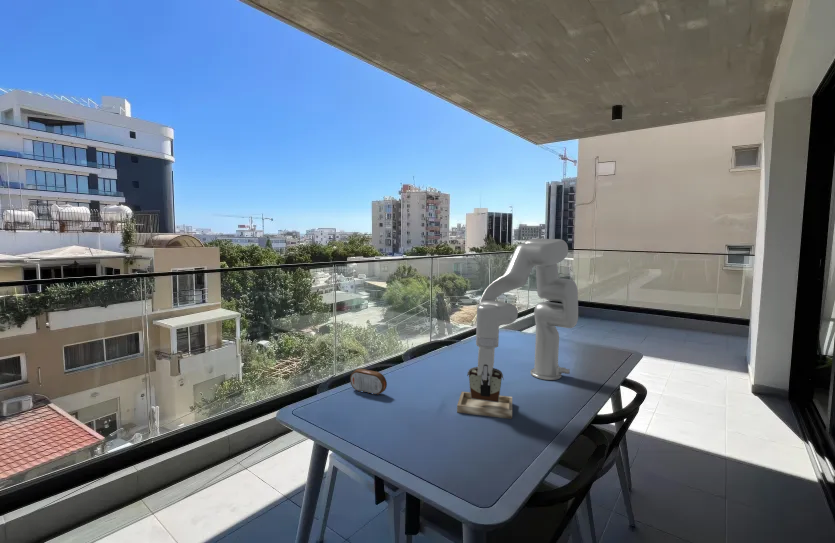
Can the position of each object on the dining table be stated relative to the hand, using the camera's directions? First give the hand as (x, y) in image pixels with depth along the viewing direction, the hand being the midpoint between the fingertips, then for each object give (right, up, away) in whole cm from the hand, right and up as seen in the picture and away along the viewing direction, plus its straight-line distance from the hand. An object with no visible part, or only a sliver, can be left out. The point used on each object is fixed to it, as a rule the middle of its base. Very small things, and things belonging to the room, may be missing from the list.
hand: (485, 391), depth 134 cm
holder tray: (0, -6, 0) cm, 6 cm away
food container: (0, -2, +1) cm, 2 cm away
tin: (-42, -4, +13) cm, 44 cm away
